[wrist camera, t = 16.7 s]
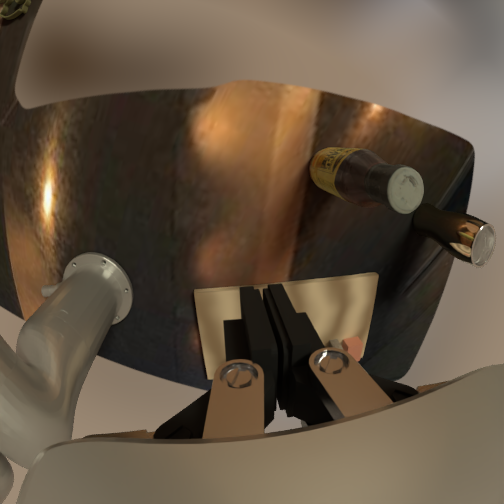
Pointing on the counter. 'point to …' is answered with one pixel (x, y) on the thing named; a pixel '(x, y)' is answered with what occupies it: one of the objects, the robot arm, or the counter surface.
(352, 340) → the tab
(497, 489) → the robot arm
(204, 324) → the board
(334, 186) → the sauce bottle
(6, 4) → the cookie cutter
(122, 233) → the counter surface
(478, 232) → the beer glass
